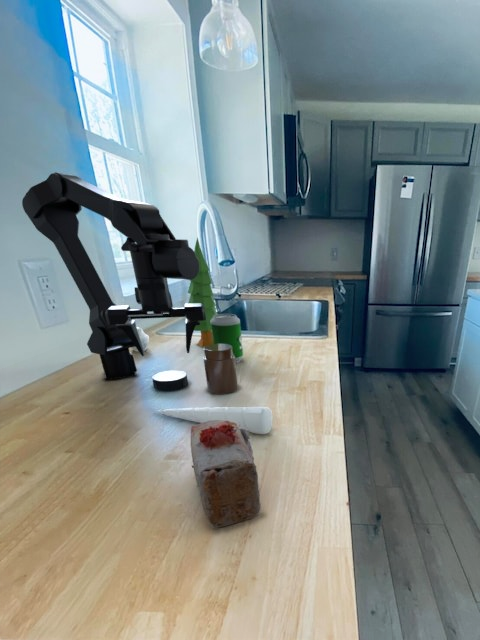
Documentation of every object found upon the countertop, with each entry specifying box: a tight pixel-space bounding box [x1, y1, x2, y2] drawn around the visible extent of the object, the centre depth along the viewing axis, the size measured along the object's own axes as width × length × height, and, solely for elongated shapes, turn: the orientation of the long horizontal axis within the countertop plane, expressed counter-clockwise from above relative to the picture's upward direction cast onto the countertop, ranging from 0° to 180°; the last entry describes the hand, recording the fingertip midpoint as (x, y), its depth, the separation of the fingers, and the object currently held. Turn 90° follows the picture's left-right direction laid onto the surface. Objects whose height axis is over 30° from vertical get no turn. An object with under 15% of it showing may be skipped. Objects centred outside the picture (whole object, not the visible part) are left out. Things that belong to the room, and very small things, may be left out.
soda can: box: [210, 313, 244, 364], centre depth 98 cm, size 8×8×12 cm
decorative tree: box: [187, 237, 218, 348], centre depth 108 cm, size 10×9×30 cm
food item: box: [190, 420, 261, 529], centre depth 47 cm, size 14×8×10 cm, turn 24°
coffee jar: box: [202, 344, 239, 395], centre depth 80 cm, size 7×7×10 cm
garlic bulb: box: [130, 326, 150, 353], centre depth 106 cm, size 6×6×7 cm
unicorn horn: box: [155, 406, 274, 435], centre depth 67 cm, size 5×24×5 cm, turn 69°
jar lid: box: [151, 370, 189, 392], centre depth 83 cm, size 7×7×2 cm
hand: (166, 354), depth 80 cm, fingers open, 9 cm apart
